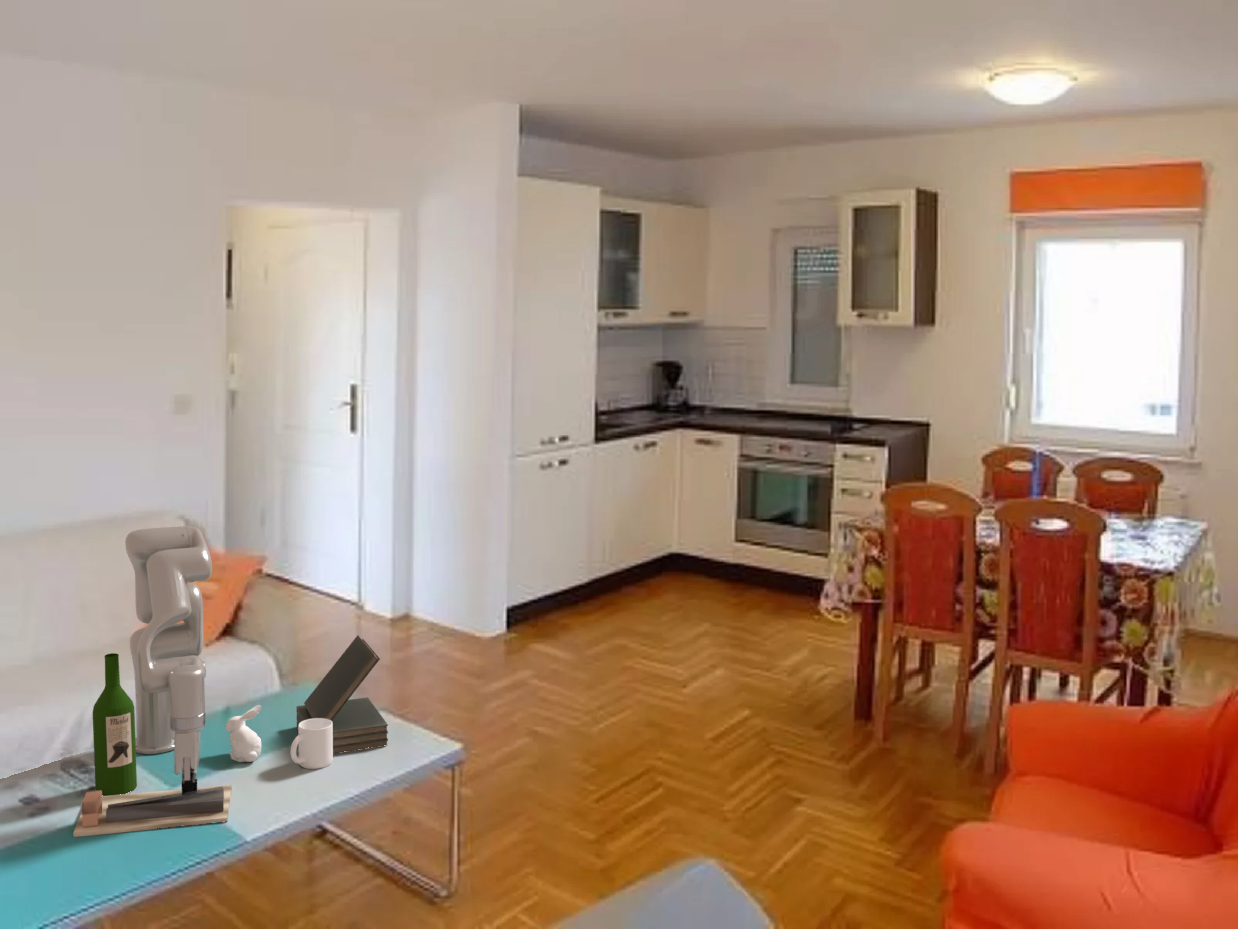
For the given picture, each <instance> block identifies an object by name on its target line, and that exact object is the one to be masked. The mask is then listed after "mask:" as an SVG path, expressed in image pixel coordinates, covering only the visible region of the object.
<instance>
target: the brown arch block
mask: <svg viewBox="0 0 1238 929" xmlns="http://www.w3.org/2000/svg"><path fill="white" fill-rule="evenodd" d="M102 813H103V807H102V790H99V791H96V790H89V791H86V793H85V795H84V798H83V800H82V801H81V814H82V824H83V827H84V826H94V825H98V814H102Z"/></svg>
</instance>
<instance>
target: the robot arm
mask: <svg viewBox="0 0 1238 929" xmlns="http://www.w3.org/2000/svg"><path fill="white" fill-rule="evenodd" d="M125 551H126V554H127V557H128V560H129V561H130V563H131V565H132V567H133V571H134V580H135V581H134V583H135V584H134V585H135V586H134V588H135V590H134V591H135V592H134V593H135V613H136V617H137V619H138V620H139V622H141V623H143V624H147V625H146V627H141V628H140V629H137V630H136V631H134V632H133V633H132V634H131V635H130V639H129V650H130V654H131V659H132V664H133V674H134V688H135V689H134V690H135V692H134V693H135V715H136V716H135V719H136V720H135V725H136V737H135V743H136V754H140V755H141V754H142V755H155V754H157V755H158V754H162V753H167V752H170V751H174V753H173V754H174V756H173V757H174V767H173V768H174V772H173V773H174V775H176V776H178V775H180V774H181V789H182V793H185V792H191V791H197V788H198V778H197V772H198V769H199V763H200V758H201V730H202V729H204V728H205V727H206V694H205V693H206V689H205V687H206V684H205V678H206V674H207V669H206V667H207V666H206V663H205V661H203V659H202V658H201V657H200V655H201V654H202V652H203V647H204V600H203V599H204V598H203V595H202V591H201V589H200V587H199V586H198V585H197V584H196V583H198V582H206V581H208V580H209V579H210V578H211V577H212V574H213V562H212V557H211V553H210V549H209V547H208V544H207V542H206V540H205V538H204V535H203V533H202V531H201V530H200V529H199V527H197V526H194V525H193V526H192V525H181V526H179V525H178V526H170V527H169V526H168V527H167V526H166V527H165V526H163V527H152V528H151V527H150V528H141V529H136V530H132V531H130V532H129V533H128V534H126V536H125ZM182 621H183V622H182Z"/></svg>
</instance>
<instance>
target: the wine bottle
mask: <svg viewBox="0 0 1238 929" xmlns="http://www.w3.org/2000/svg"><path fill="white" fill-rule="evenodd" d="M119 656H120V655H119V654H118V653H113V652H111V653H107V654H105V655H104V657H103V658H104V683H105V686H104V688H103V690H102V692H101V693H100V695H99V697H98V698H97V700H96V701H95V703H94V705H93V707H92V708H93V709H92V733H93V734H92V735H93V756H94V757H93V759H94V760H93V761H94V764H93V765H94V781H95V782H94V784H95V791H99V790H102V795H103V796H110V795H120V794H126V793H127V794H129V793H131V792H133V791H135V789H136V788H137V785H138V777H137V753H136V743H135V739H136V720H135V719H136V716H135V715H136V713H135V705H134V702H133V700H132V699H131V698H130V695H128V694H127V692H126V691H125V690H124V689H123V687H122V685H121V679H120V678H121V677H120V665H119V664H120V662H119V661H120V660H119ZM130 791H131V792H130ZM128 792H129V793H128Z"/></svg>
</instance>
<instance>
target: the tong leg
mask: <svg viewBox="0 0 1238 929" xmlns="http://www.w3.org/2000/svg"><path fill="white" fill-rule="evenodd" d="M221 786H222V785H221ZM221 797H224V789H223V786H222V787H216V788H210V789H204V790H197V791H191V792H185V793H179V794H172V795H166V796H160V797H153V798H147V799H141V800H135V801H128V802H122V803H116V804H109V805H108V808H113V807H123V806H134V805H145V804H156V803H167V802H178V801H189V800H200V799H210V798H221Z"/></svg>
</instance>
